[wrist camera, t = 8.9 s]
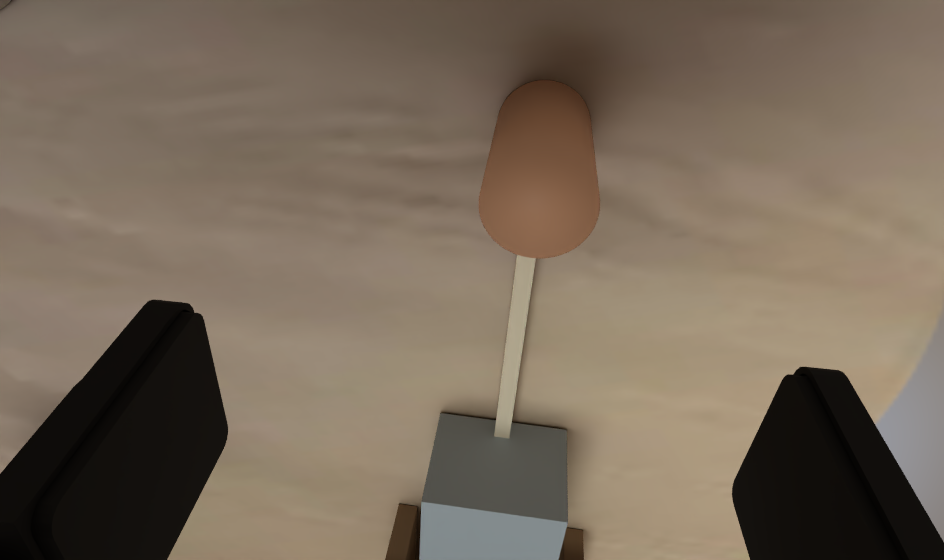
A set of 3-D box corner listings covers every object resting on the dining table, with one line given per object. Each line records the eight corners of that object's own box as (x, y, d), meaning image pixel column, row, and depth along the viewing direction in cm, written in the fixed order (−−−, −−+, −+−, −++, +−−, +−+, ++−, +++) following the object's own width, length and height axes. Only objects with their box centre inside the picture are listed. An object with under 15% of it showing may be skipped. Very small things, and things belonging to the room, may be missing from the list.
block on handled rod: (459, 70, 21) (428, 137, 16) (641, 89, 21) (667, 163, 16) (436, 493, 33) (414, 603, 28) (549, 509, 33) (547, 624, 28)
